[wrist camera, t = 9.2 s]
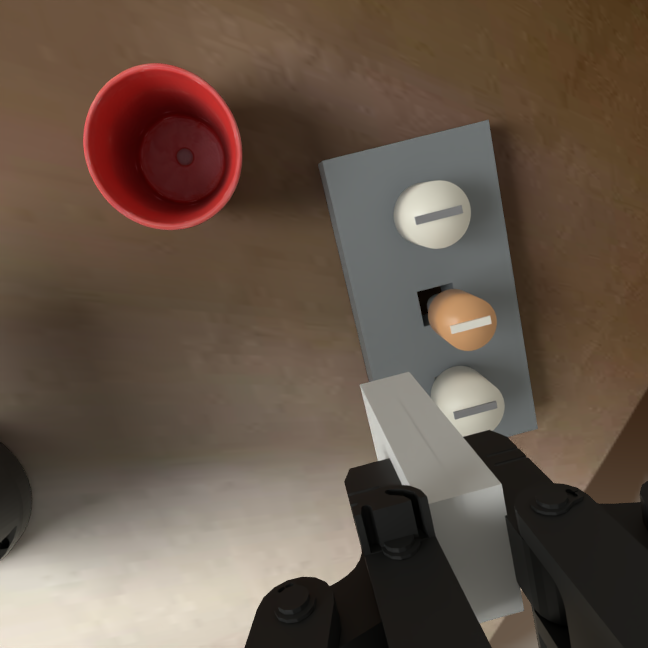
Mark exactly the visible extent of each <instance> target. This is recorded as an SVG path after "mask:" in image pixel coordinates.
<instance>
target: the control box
mask: <svg viewBox="0 0 648 648" xmlns="http://www.w3.org/2000/svg"><path fill="white" fill-rule="evenodd" d="M318 167H319V171H320V175H321V179H322V184H323V188H324V192H325V196H326V201H327V205H328V209H329V213H330V218H331V222H332V226H333V230H334V235H335V239H336V243H337V247H338V252H339V256H340V260H341V264H342V269H343V273H344V277H345V281H346V286H347V290H348V294H349V298H350V303H351V307H352V311H353V315H354V320H355V324H356V328H357V332H358V337H359V341H360V345H361V349H362V354H363V358H364V362H365V366H366V371H367V375H368V379H369V382H371V381H375V380H379V379H383V378H387V377H391V376H394V375H398V374H402V373H406V372H410V373H411V375H412V376H413V377H414V378H415V379H416V381H417V382H418V383H419V384H420V386H421V387H422V388H423V389H424V390H425V392H426V393H427V394H428V395H429V396H430V398H431V389H432V386H433V383H434V381H435V378H434V377H437V376H439V375H440V374H441V373H442V372H443V371H445V370H447V369H449V368H451V367H455V366H467V367H470V368H472V369H474V370H476V371H477V372H478V373H479V374H481V375H482V376H483V377H484V378H486V379H487V380H488V381H489V382H491V383H492V384H493V385H494V386H495V387H496V388H498V390H499V391H500V392H501V394H502V396H503V399H504V405H505V408H504V414H503V417H502V419H501V421H500V423H499V424H498V426H497V427H496V428H495V429H494V430H493V431H494V432H496V433H499V434H501V435H504V436H507V437H509V436H513V435H516V434H520V433H524V432H527V431H531V430H535V429H538V427H537V421H536V414H535V408H534V402H533V396H532V389H531V383H530V377H529V371H528V364H527V358H526V352H525V345H524V339H523V333H522V327H521V320H520V314H519V308H518V301H517V295H516V289H515V283H514V276H513V270H512V264H511V258H510V251H509V245H508V239H507V232H506V226H505V220H504V214H503V207H502V201H501V195H500V189H499V182H498V176H497V170H496V163H495V157H494V151H493V145H492V138H491V132H490V126H489V120H486V121H482V122H478V123H474V124H470V125H466V126H462V127H458V128H453V129H449V130H445V131H441V132H437V133H433V134H429V135H425V136H421V137H417V138H413V139H409V140H405V141H401V142H397V143H393V144H389V145H385V146H381V147H377V148H373V149H369V150H365V151H361V152H356V153H352V154H348V155H344V156H340V157H336V158H332V159H328V160H324V161H322V162H320V163H319V164H318ZM438 180H442V181H448V182H451V183H453V184H455V185H457V186H458V187H459V188H461V189H462V191H463V192H464V193H465V194H466V196H467V198H468V200H469V203H470V207H471V218H470V223H469V226H468V228H467V230H466V232H465V234H464V235H463V236H462V237H461V238H460V239H459V240H458V241H457V242H456V243H454V244H453V245H451V246H448V247H445V248H441V249H433V248H428V247H424V246H421V245H417V244H414V243H411V242H409V241H407V240H406V239H404V238H403V237H402V236H401V235H400V233H399V232H398V230H397V228H396V226H395V223H394V207H395V204H396V201H397V199H398V197H399V196H400V195H401V193H402V192H403V191H404V190H406V189H407V188H408V187H410V186H412V185H414V184H417V183H422V182H429V181H438ZM438 286H440V287H441V292H443V291H445V290H449V289H459V290H463V291H465V292H467V293H469V294H472V295H474V296H476V297H478V298H480V299H483V300H484V301H486V302H487V303H489V304H490V305H491V307H492V308H493V309H494V311H495V314H496V318H497V326H496V330H495V333H494V335H493V337H492V338H491V340H490V341H489V342H488V343H487V344H486V345H484V346H483V347H481V348H479V349H476V350H472V351H464V350H460V349H457V348H455V347H454V346H452V345H451V344H450V343H449V342H447V341H446V340H445V339H443V338H442V337H441V336H440V335H438V334H437V333H436V332H435V331H434V330H433V329H432V327H431V326H430V323H429V320H428V314H424V315H421V310H420V305H419V300H418V295H417V292H418V291H422V290H426V289H430V288H434V287H438Z"/></svg>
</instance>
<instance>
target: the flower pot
mask: <svg viewBox="0 0 648 648" xmlns="http://www.w3.org/2000/svg"><path fill="white" fill-rule="evenodd" d="M83 144H84V154H85V159H86V163H87V166H88V169H89V172H90V174H91V177H92V179H93V181H94V183H95V184H96V186H97V188H98V189H99V191H100V192H101V193H102V195H103V196H104V197H105V199H106V200H107V201H108V202H109V203H110V204H111V205H112V206H113V207H114V208H115V209H116V210H117V211H119V212H120V213H121V214H123V215H124V216H126V217H127V218H129V219H131V220H132V221H134V222H137V223H139V224H141V225H144V226H147V227H151V228H155V229H162V230H179V229H185V228H190V227H193V226H196V225H199V224H201V223H203V222H205V221H207V220H208V219H210V218H212V217H213V216H214V215H216V214H217V213H218V212H219V211H220V210H221V209H222V208H223V207H224V206H225V205H226V204H227V202H228V201H229V200H230V198H231V196H232V195H233V193H234V191H235V189H236V187H237V184H238V181H239V178H240V174H241V169H242V142H241V137H240V133H239V129H238V126H237V123H236V121H235V118H234V116H233V114H232V112H231V110H230V109H229V107H228V105H227V104H226V102H225V101H224V99H223V98H222V97H221V96H220V94H219V93H218V92H217V91H216V90H215V89H214V88H213V87H212V86H211V85H210V84H209V83H207V82H206V81H205V80H203V79H202V78H200V77H199V76H197V75H195V74H194V73H192V72H190V71H187V70H185V69H182V68H179V67H176V66H173V65H168V64H162V63H149V64H143V65H138V66H135V67H132V68H129V69H127V70H125V71H123V72H121V73H120V74H118V75H116V76H115V77H114V78H112V79H111V80H110V81H109V82H107V83H106V84H105V85H104V87H103V88H102V89H101V90H100V91H99V93H98V94H97V96H96V97H95V99H94V101H93V103H92V105H91V106H90V109H89V112H88V115H87V118H86V122H85V127H84V138H83Z"/></svg>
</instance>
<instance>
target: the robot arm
mask: <svg viewBox="0 0 648 648" xmlns="http://www.w3.org/2000/svg"><path fill="white" fill-rule="evenodd" d="M360 387H361V391H362V395H363V399H364V404H365V408H366V412H367V416H368V421H369V425H370V429H371V433H372V438H373V442H374V446H375V450H376V455H377V459H378V461H377V462H373V463H369V464H366V465H362V466H358V467H354V468H351V469H350V470H349V472H348V474H347V477H346V479H345V481H344V482H345V486H346V490H347V494H348V498H349V502H350V506H351V510H352V514H353V518H354V522H355V525H356V529H357V533H358V537H359V541H360V545H361V549H362V554H361V558H360V561H359V562H358V564H357V566H356V567H355V568H354V569H353V570H352V571H351V572H350V573H349V574H348V575H347V576H346V577H344V578H343V579H341V580H340V581H339V582H337V583H335V584H333V585H331V586H329V585H328V584H327V583H326V582H325V581H322V580H320V579H318V578H315V577H299V578H295V579H291V580H287V581H286V582H284V583H282V584H280V585H278V586H276V587H274V588H273V589H272V590H271V591H270V592H269V593H268V594H267V595H266V596H265V597H264V598H263V600H262V601H261V603H260V605H259V607H258V609H257V611H256V614H255V617H254V620H253V623H252V627H251V630H250V633H249V636H248V639H247V642H246V645H245V648H491V645H490V643H489V641H488V639H487V637H486V636H485V634H484V632H483V630H482V628H481V626H480V624H479V623H482V622H486V621H489V620H493V619H496V618H500V617H503V616H507V615H511V614H514V613H518V612H521V611H524V608H523V602H522V596H521V591H520V587H521V589H522V591H523V592H524V594H525V595H526V597H527V598H528V600H529V601H530V603H531V605H532V611H533V617H534V623H535V629H536V634H537V640H538V646H539V648H648V481H647V482H646V483H644V484H643V485H642V487H641V491H640V499H641V502H637V503H619V504H598V503H596V502H595V501H594V500H593V499H592V498H591V497H590V496H589V495H588V494H586V493H584V492H583V491H581V490H580V489H578V488H576V487H572V486H569V485H566V484H556V483H553V482H552V481H551V480H550V479H549V478H548V477H547V476H546V475H545V474H544V473H543V472H542V471H541V470H540V469H539V468H538V467H537V466H536V465H535V464H534V463H533V462H532V461H531V460H530V459H529V458H526V455H525V454H524V453H523V452H522V451H521V450H520V449H518V448H517V446H516V445H515V444H514V443H513V442H512V441H511V440H510V439H509V438H508V437H507V436H504V435H501V434H499V433H496V432H494V431H491V430H487V431H483V432H479V433H475V434H472V435H468V436H464V437H462V435H461V434H460V433H459V432H458V430H457V429H456V428H455V427H454V426H453V424H452V423H451V422H450V421H449V420H448V418H447V417H446V416H445V415H444V413H443V412H442V411H441V410H440V409H439V407H438V406H437V405H436V404H435V403H434V401H433V400H432V399H431V398H430V396H429V395H428V394H427V393H426V392H425V390H424V389H423V388H422V387H421V386H420V384H419V383H418V382H417V381H416V379H415V378H414V377H413V376H412V375H411V373H410V372H406V373H402V374H398V375H394V376H391V377H387V378H383V379H379V380H375V381H371V382H368V383H364V384H360ZM31 506H32V497H31V489H30V485H29V481H28V479H27V476H26V474H25V472H24V470H23V468H22V466H21V465H20V463H19V462H18V460H17V459H16V458H15V456H14V455H13V454H12V453H11V452H10V451H9V450H8V449H7V448H6V447H5V446H4V445H2V444H1V443H0V561H1V560H2V559H3V558H4V557H5V556H6V555H7V554H8V552H9V551H10V550H11V549H12V547H13V546H14V545H15V543H16V542H17V541H18V539H19V538H20V537H21V535H22V534H23V532H24V530H25V528H26V526H27V524H28V521H29V518H30V514H31Z"/></svg>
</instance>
